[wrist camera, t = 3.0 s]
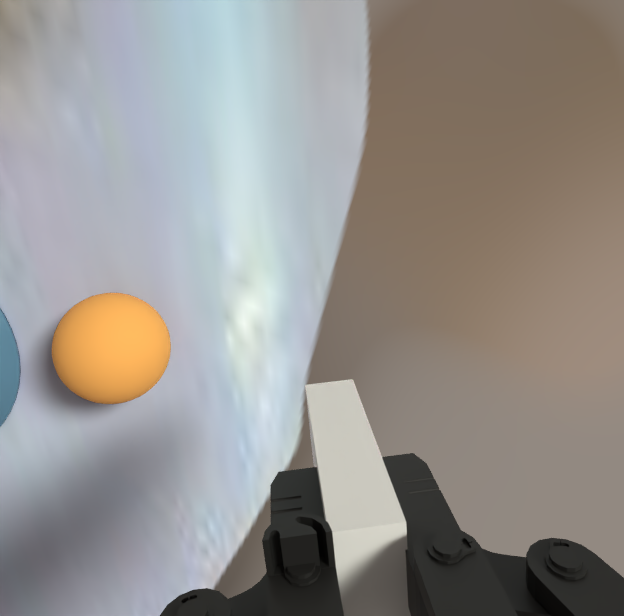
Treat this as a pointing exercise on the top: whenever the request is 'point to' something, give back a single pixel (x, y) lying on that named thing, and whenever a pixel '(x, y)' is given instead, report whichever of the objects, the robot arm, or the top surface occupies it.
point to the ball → (111, 348)
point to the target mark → (8, 368)
